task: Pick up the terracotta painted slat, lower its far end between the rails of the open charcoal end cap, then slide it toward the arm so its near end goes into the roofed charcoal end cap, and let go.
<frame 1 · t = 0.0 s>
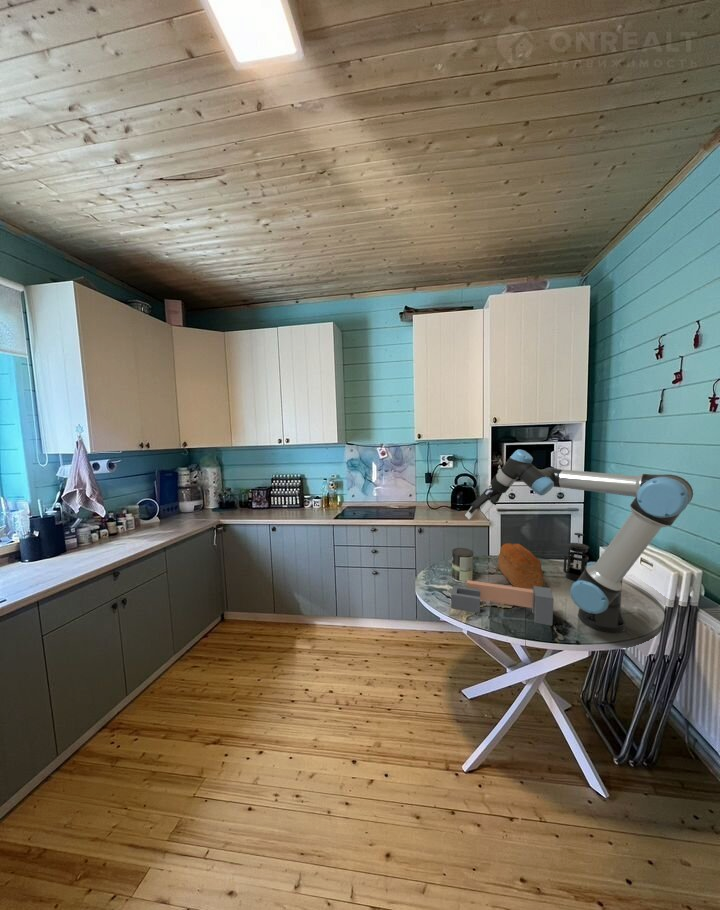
hand: (475, 514, 162), 36 cm above the table, tool tilted 35°, fingers open, 13 cm apart
far end cap: (465, 605, 151), on the table
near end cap: (541, 618, 141), on the table
coffee can: (461, 578, 177), on the table
french press: (575, 578, 178), on the table
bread: (518, 578, 177), on the table
slat: (499, 601, 154), on the table
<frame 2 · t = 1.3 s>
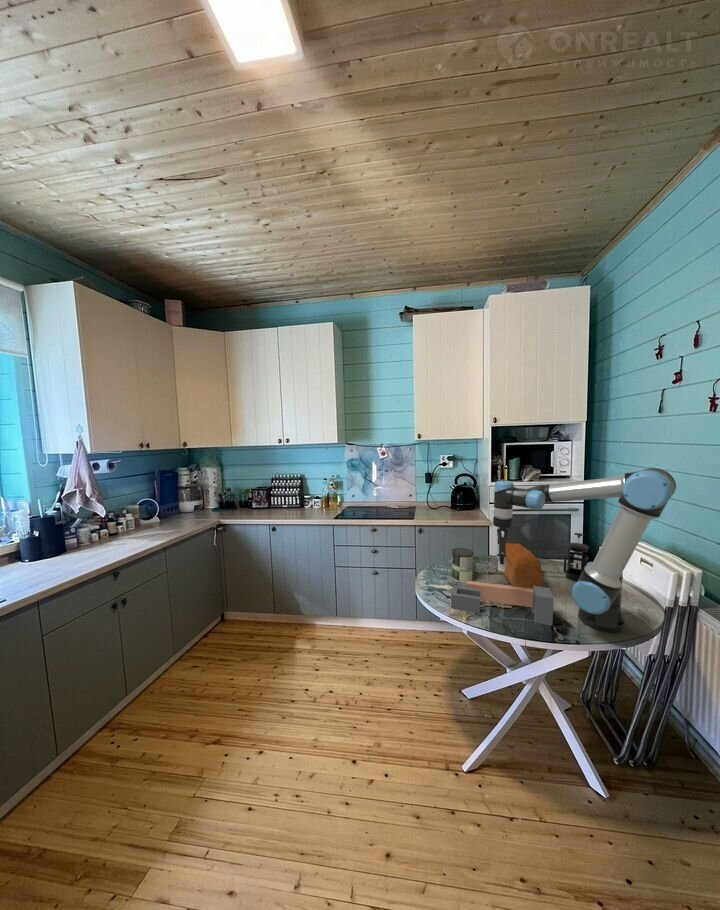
hand: (500, 564, 153), 16 cm above the table, tool pointing down, fingers open, 13 cm apart
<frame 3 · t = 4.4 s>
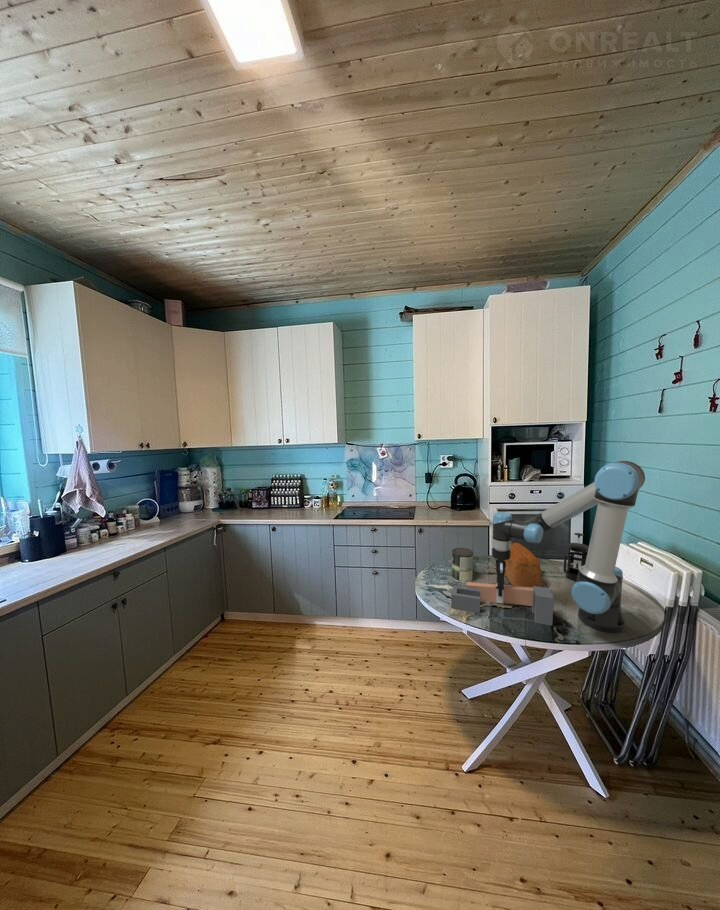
hand: (499, 600, 154), 0 cm above the table, tool pointing down, fingers closed on slat, 3 cm apart
slat: (499, 601, 154), on the table, touching gripper
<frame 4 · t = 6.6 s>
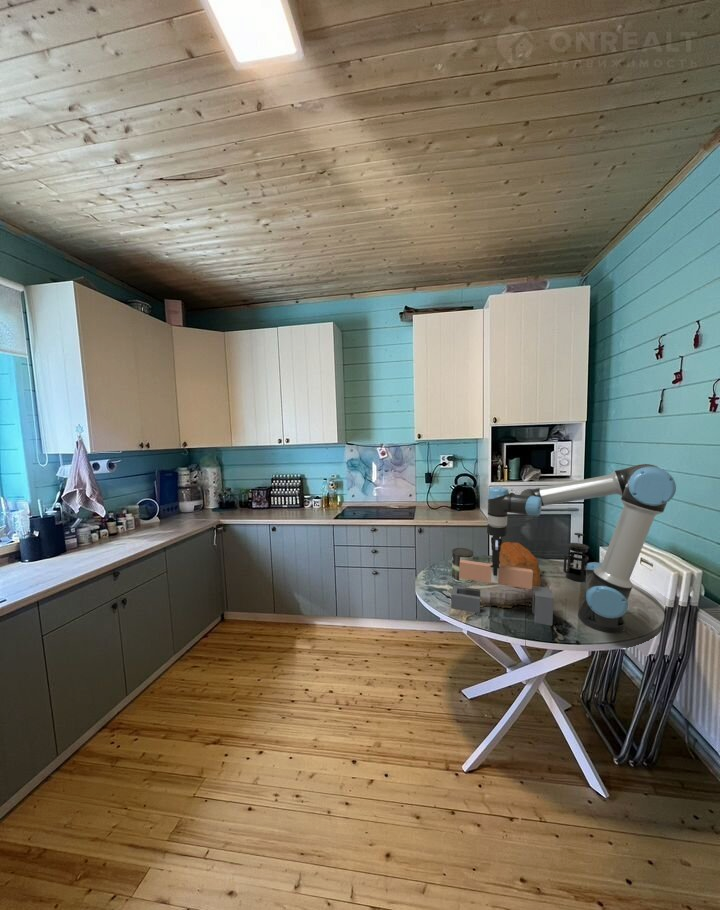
hand: (494, 580, 146), 13 cm above the table, tool pointing down, fingers closed on slat, 3 cm apart
slat: (494, 582, 146), point 12 cm above the table, touching gripper
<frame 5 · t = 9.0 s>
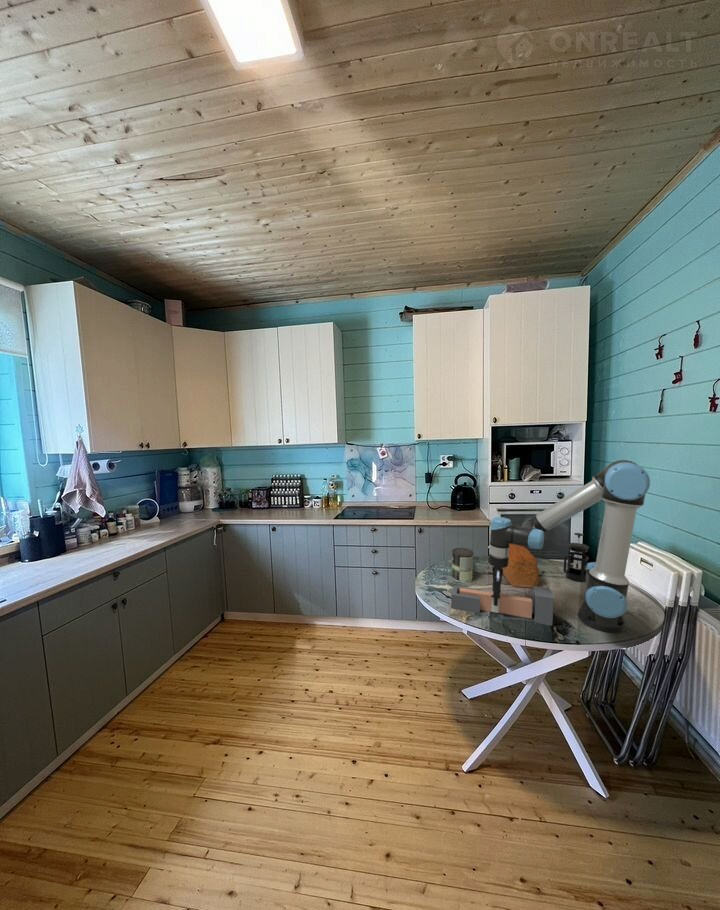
hand: (494, 609, 147), 0 cm above the table, tool pointing down, fingers closed on slat, 3 cm apart
slat: (494, 610, 147), on the table, touching gripper
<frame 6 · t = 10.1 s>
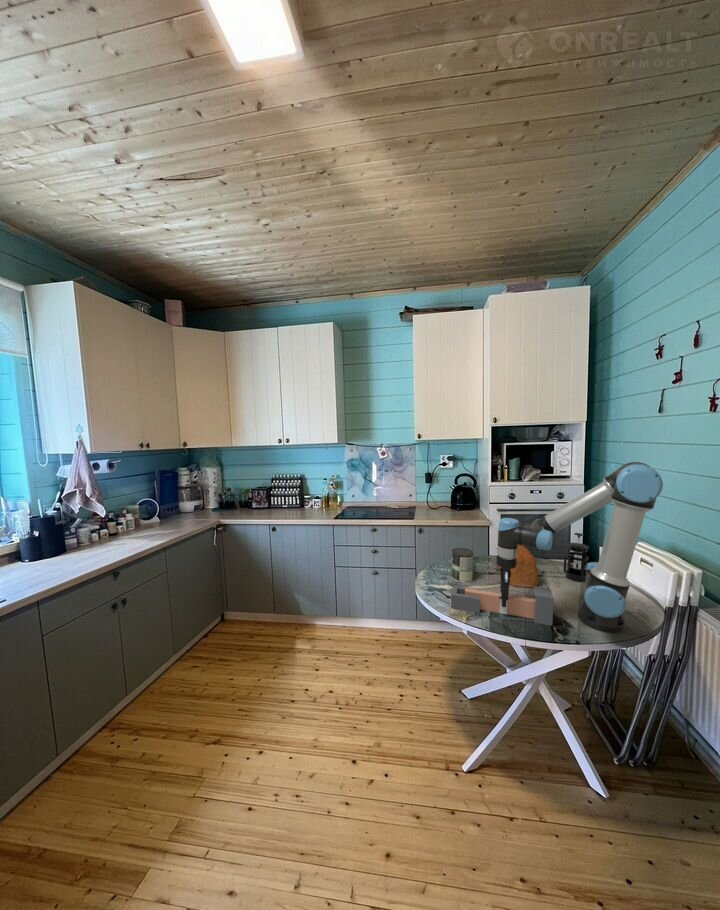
hand: (502, 610, 146), 0 cm above the table, tool pointing down, fingers closed on slat, 3 cm apart
slat: (499, 611, 146), on the table, touching gripper
when the fingers open (0 cm above the table, at t = 10.4 s): slat stays where it is, on the table.
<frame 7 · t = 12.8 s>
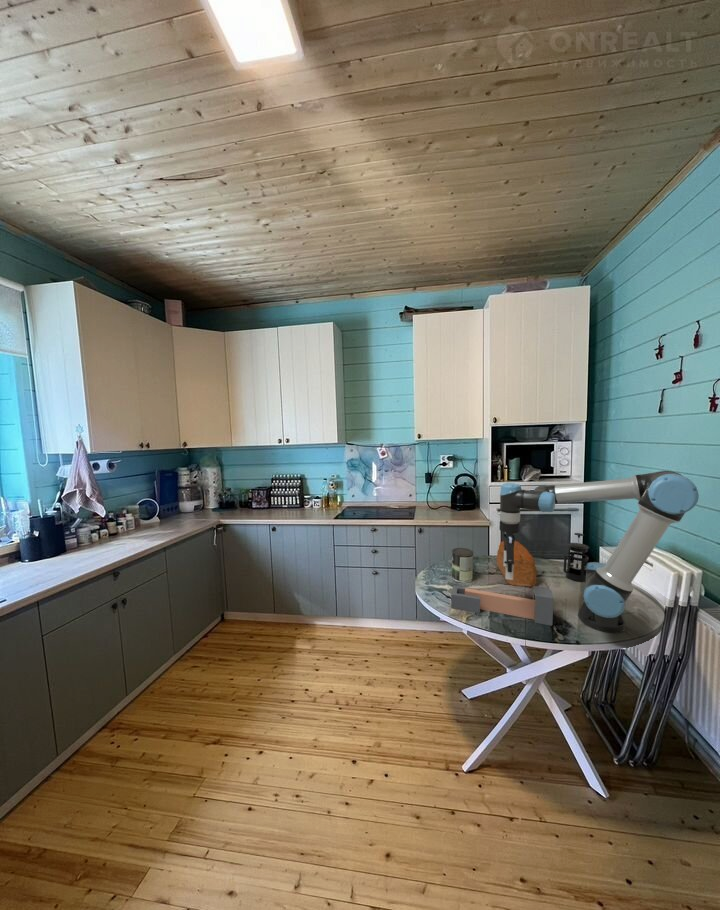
hand: (508, 572, 144), 17 cm above the table, tool pointing down, fingers open, 13 cm apart
slat: (499, 611, 146), on the table
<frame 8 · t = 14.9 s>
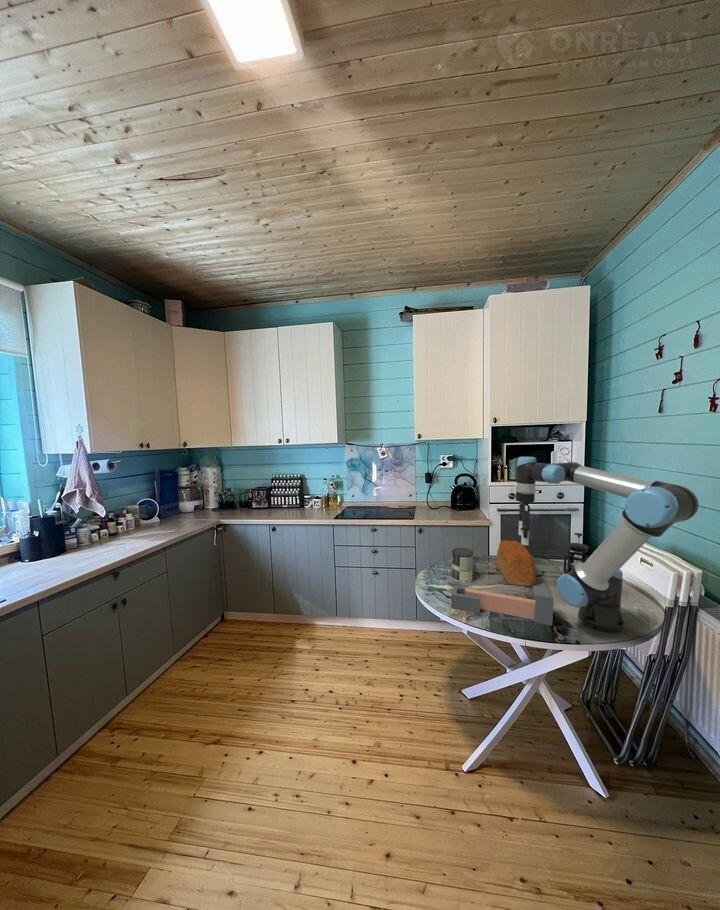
hand: (523, 539, 155), 27 cm above the table, tool pointing down, fingers open, 13 cm apart
at the end: slat 1.7 cm from the target spot, on the table; slat tilted 0°; the gripper is holding nothing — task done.
